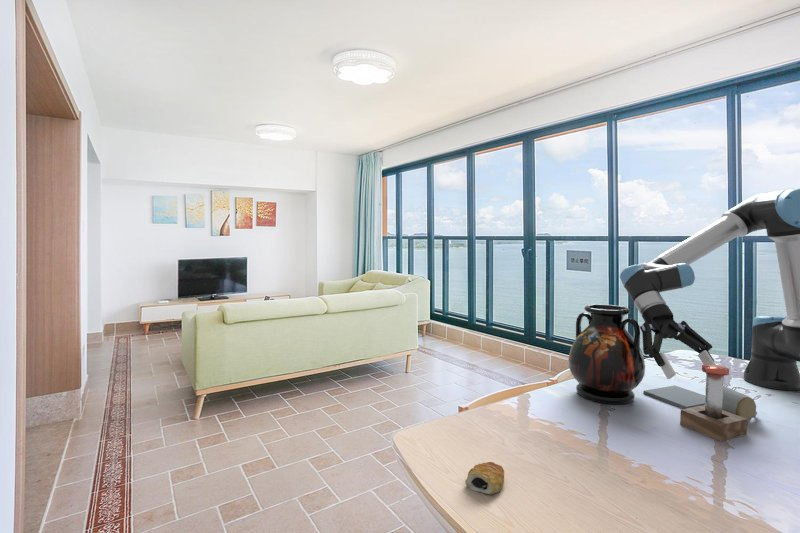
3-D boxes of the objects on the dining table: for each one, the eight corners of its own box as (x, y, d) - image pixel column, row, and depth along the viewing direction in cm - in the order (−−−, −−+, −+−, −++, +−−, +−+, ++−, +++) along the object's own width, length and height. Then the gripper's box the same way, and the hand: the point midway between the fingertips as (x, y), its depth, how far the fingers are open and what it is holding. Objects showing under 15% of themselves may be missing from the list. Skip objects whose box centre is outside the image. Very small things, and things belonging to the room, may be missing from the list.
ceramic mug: (737, 424, 112) (739, 396, 112) (707, 412, 120) (709, 386, 119) (766, 420, 115) (768, 393, 115) (735, 409, 123) (736, 383, 122)
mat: (674, 388, 140) (674, 385, 140) (719, 403, 127) (719, 400, 127) (643, 393, 135) (643, 390, 135) (686, 410, 122) (686, 406, 122)
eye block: (705, 418, 116) (706, 404, 116) (746, 434, 106) (747, 418, 106) (680, 424, 112) (680, 409, 112) (719, 441, 103) (720, 425, 103)
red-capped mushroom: (708, 423, 113) (711, 363, 112) (731, 432, 108) (734, 369, 107) (694, 426, 111) (696, 365, 110) (716, 435, 106) (719, 371, 105)
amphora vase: (554, 394, 134) (556, 306, 132) (586, 379, 148) (588, 300, 147) (627, 415, 118) (630, 315, 116) (654, 396, 132) (658, 307, 130)
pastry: (481, 467, 91) (481, 450, 91) (511, 477, 88) (512, 459, 87) (463, 488, 83) (463, 470, 83) (496, 500, 80) (496, 481, 80)
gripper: (682, 316, 132) (724, 379, 118) (610, 318, 128) (644, 384, 114) (698, 301, 126) (743, 366, 113) (623, 303, 122) (661, 370, 108)
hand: (694, 375), depth 113 cm, fingers open, 13 cm apart
